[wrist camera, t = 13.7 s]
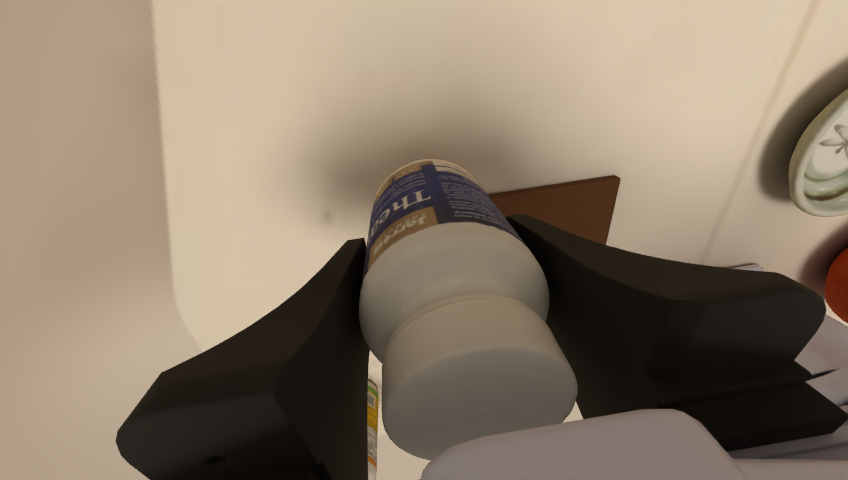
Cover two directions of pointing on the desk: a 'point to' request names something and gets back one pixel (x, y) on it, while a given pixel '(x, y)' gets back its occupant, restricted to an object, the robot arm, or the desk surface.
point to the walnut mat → (567, 205)
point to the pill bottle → (456, 315)
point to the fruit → (838, 286)
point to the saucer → (822, 163)
